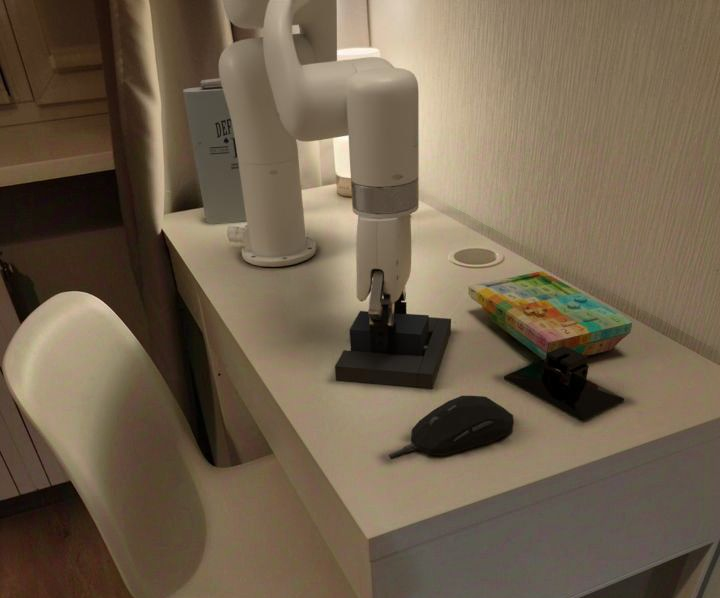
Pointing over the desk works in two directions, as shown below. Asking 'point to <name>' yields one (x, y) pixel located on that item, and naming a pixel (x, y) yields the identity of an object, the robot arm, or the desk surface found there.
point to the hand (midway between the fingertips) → (389, 340)
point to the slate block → (408, 330)
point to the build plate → (565, 384)
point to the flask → (215, 153)
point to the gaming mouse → (459, 426)
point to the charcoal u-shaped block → (398, 362)
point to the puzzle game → (550, 314)
